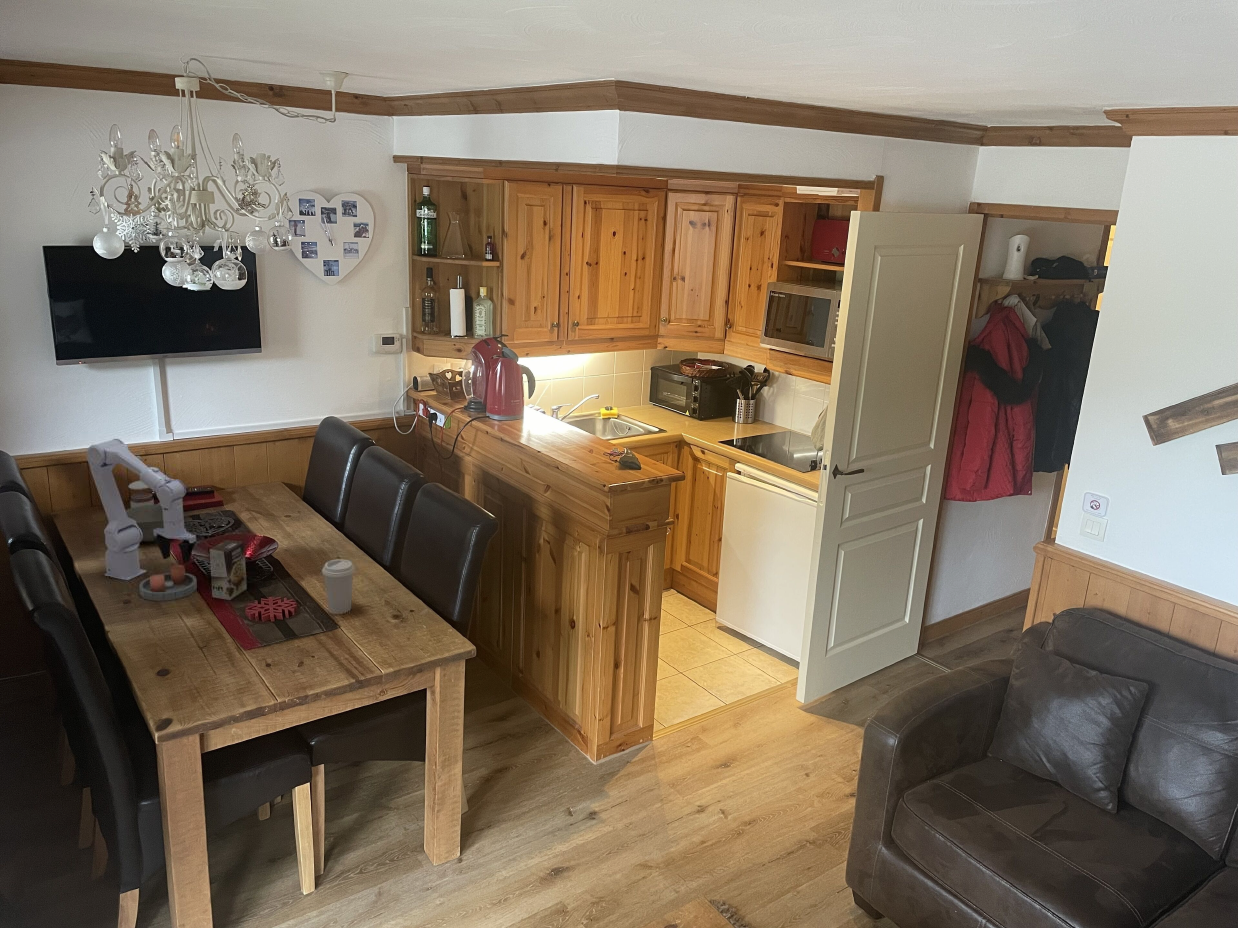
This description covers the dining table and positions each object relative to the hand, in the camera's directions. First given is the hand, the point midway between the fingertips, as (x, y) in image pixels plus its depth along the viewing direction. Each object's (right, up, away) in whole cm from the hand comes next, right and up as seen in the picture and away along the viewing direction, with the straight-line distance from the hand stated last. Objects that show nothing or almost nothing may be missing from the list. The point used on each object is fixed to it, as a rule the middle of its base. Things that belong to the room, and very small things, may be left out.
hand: (176, 559), depth 287 cm
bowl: (-26, +3, +37) cm, 46 cm away
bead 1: (-3, -9, -6) cm, 11 cm away
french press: (-37, +9, +54) cm, 67 cm away
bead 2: (0, -7, +2) cm, 8 cm away
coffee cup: (+54, -15, -7) cm, 56 cm away
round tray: (-2, -9, -2) cm, 9 cm away
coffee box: (+17, -10, -1) cm, 20 cm away
